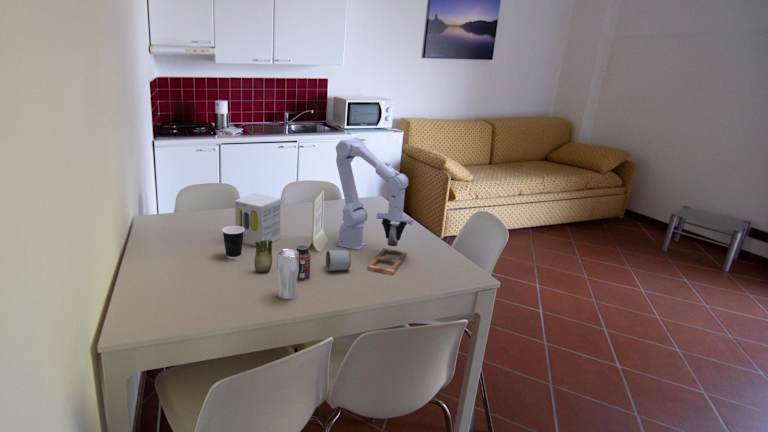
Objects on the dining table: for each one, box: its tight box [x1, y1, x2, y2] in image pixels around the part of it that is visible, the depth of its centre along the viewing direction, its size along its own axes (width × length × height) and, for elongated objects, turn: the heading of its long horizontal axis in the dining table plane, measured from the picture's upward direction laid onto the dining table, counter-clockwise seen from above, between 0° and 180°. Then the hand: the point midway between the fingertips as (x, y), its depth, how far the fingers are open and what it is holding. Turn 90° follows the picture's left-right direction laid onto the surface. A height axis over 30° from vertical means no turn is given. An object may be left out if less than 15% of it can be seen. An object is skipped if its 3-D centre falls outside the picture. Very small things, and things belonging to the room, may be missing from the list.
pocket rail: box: [366, 247, 408, 276], centre depth 191 cm, size 10×20×2 cm, turn 163°
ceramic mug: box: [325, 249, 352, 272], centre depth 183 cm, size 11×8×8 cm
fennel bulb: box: [253, 240, 273, 273], centre depth 174 cm, size 6×5×12 cm
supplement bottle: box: [295, 244, 312, 281], centre depth 172 cm, size 6×6×11 cm
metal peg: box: [387, 223, 399, 247], centre depth 193 cm, size 4×4×8 cm
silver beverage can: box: [276, 248, 299, 300], centre depth 158 cm, size 7×7×15 cm
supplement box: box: [234, 192, 282, 247], centre depth 200 cm, size 13×13×18 cm
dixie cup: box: [221, 225, 244, 260], centre depth 184 cm, size 8×8×11 cm
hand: (393, 238), depth 194 cm, fingers closed on metal peg, 4 cm apart
